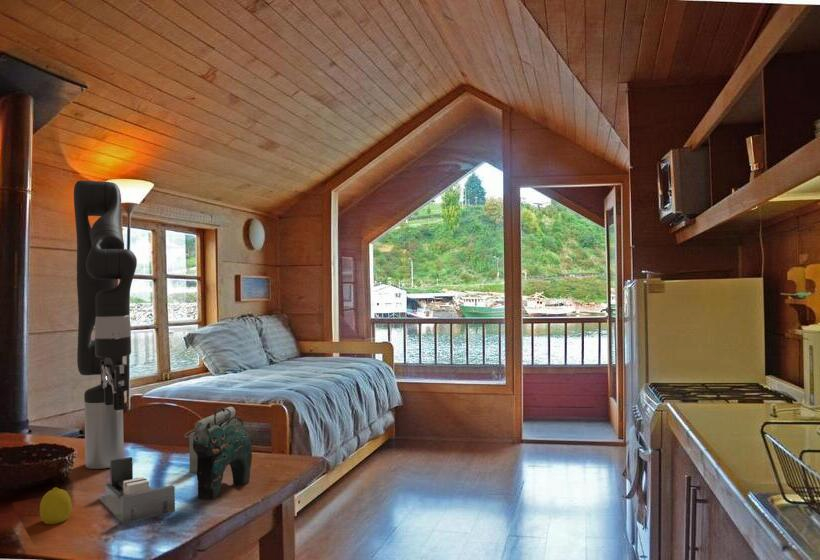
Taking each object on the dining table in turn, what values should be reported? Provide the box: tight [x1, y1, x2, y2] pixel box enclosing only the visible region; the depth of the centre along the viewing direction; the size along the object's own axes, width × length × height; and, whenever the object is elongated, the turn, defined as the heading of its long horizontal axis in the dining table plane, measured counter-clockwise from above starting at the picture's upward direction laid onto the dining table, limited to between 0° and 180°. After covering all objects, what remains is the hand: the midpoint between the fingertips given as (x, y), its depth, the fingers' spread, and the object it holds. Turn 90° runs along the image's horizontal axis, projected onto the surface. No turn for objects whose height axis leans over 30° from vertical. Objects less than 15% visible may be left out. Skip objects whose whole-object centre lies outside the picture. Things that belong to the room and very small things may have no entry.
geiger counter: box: [183, 406, 238, 473], centre depth 168 cm, size 14×6×25 cm
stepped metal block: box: [109, 456, 134, 496], centre depth 139 cm, size 9×4×7 cm, turn 39°
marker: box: [123, 477, 150, 495], centre depth 134 cm, size 4×4×5 cm
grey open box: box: [97, 477, 176, 525], centre depth 134 cm, size 20×10×6 cm, turn 39°
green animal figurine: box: [193, 406, 253, 501], centre depth 145 cm, size 20×6×20 cm, turn 166°
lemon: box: [39, 486, 73, 525], centre depth 126 cm, size 6×6×8 cm
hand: (114, 407), depth 147 cm, fingers open, 7 cm apart
